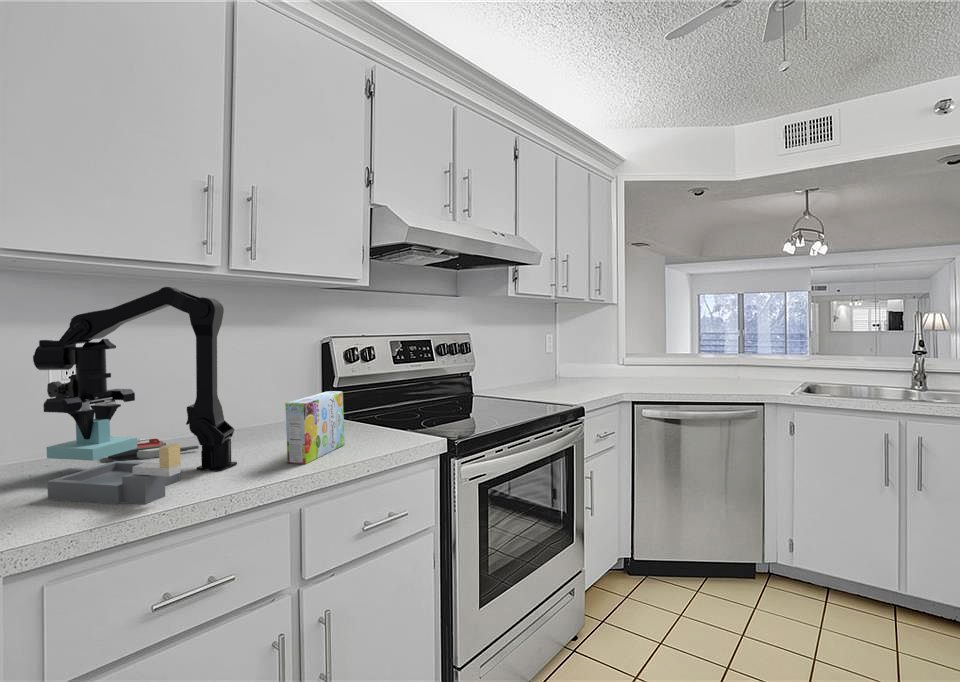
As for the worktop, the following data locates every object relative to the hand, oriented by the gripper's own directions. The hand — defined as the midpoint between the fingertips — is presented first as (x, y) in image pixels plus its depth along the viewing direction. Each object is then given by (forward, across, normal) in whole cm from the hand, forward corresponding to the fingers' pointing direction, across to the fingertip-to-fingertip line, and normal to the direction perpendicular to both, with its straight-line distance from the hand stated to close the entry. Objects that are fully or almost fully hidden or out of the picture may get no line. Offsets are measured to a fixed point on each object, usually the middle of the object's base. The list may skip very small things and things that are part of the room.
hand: (93, 437), depth 127 cm
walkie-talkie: (+8, -17, 0) cm, 19 cm away
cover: (+4, 0, 0) cm, 4 cm away
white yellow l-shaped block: (+3, +14, +29) cm, 33 cm away
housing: (+8, +10, +18) cm, 22 cm away
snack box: (+8, -26, +42) cm, 50 cm away
